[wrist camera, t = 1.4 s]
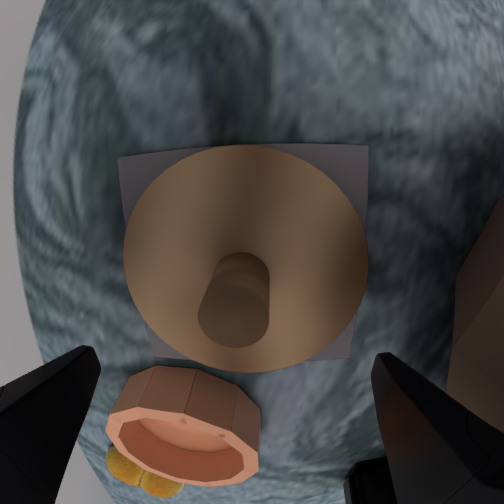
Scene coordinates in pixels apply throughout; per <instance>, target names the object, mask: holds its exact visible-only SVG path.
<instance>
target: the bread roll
mask: <svg viewBox="0 0 504 504" xmlns="http://www.w3.org/2000/svg"><path fill="white" fill-rule="evenodd" d="M106 464H107V467H108V469H109V471H110V472H111V474H112V475H113V476H114V477H116V478H117V479H119V480H121V481H123V482H125V483H127V484H130V485H133V486H141V487H142V488H143V489H144V490H145V491H146V492H148V493H149V494H151V495H154V496H157V497H161V498H168V497H171V496H173V495H175V494H177V493H178V492H179V491H180V490H181V489H182V488H183V487H184V485H185V483H180V482H175V481H173V480H170V479H167V478H164V477H162V476H159V475H157V474H154V473H152V472H149V471H147V470H144V469H143V468H141V467H140V466H138V465H137V464H136V463H134V462H133V461H131V460H130V459H128V458H127V457H126V456H124V455H123V454H121V453H120V452H119V451H118V450H117V448H116V447H115V446H112V447H111V448H109V449H108V451H107V454H106Z"/></svg>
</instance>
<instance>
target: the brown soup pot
mask: <svg viewBox="0 0 504 504" xmlns="http://www.w3.org/2000/svg"><path fill="white" fill-rule="evenodd" d="M445 393H447V394H448V395H449V396H451V397H452V398H453V399H455V400H456V401H457V402H459V403H460V404H462V405H463V406H464V407H466V408H467V410H470V411H471V412H473V413H474V414H475V415H477V416H478V417H480V418H481V419H482V420H484V421H485V422H487V423H488V424H490V425H491V426H493V427H495V428H496V429H498V430H500V431H501V432H503V433H504V196H503V197H502V198H501V199H499V200H498V201H497V202H496V204H495V206H494V208H493V210H492V212H491V214H490V216H489V218H488V220H487V222H486V224H485V226H484V228H483V230H482V232H481V234H480V236H479V237H478V239H477V241H476V243H475V245H474V246H473V248H472V250H471V251H470V253H469V255H468V257H467V258H466V260H465V262H464V263H463V265H462V266H461V268H460V270H459V271H458V273H457V274H456V287H455V314H454V328H453V339H452V349H451V357H450V364H449V371H448V378H447V384H446V389H445Z"/></svg>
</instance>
